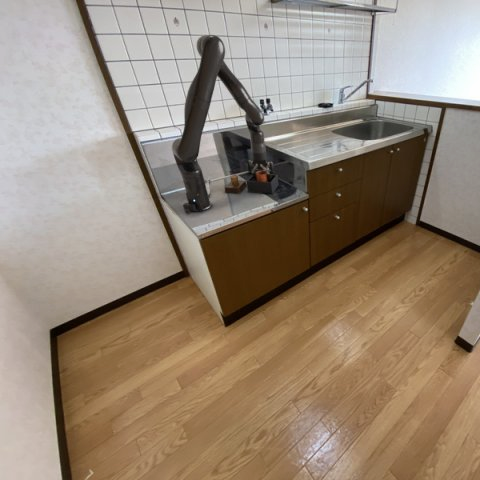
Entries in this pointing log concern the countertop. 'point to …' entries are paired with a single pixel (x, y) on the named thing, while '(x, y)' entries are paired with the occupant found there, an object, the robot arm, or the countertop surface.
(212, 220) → the countertop surface
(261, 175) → the cup
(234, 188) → the tap block
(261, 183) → the basin
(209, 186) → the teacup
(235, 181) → the tap knob
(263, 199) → the countertop surface
